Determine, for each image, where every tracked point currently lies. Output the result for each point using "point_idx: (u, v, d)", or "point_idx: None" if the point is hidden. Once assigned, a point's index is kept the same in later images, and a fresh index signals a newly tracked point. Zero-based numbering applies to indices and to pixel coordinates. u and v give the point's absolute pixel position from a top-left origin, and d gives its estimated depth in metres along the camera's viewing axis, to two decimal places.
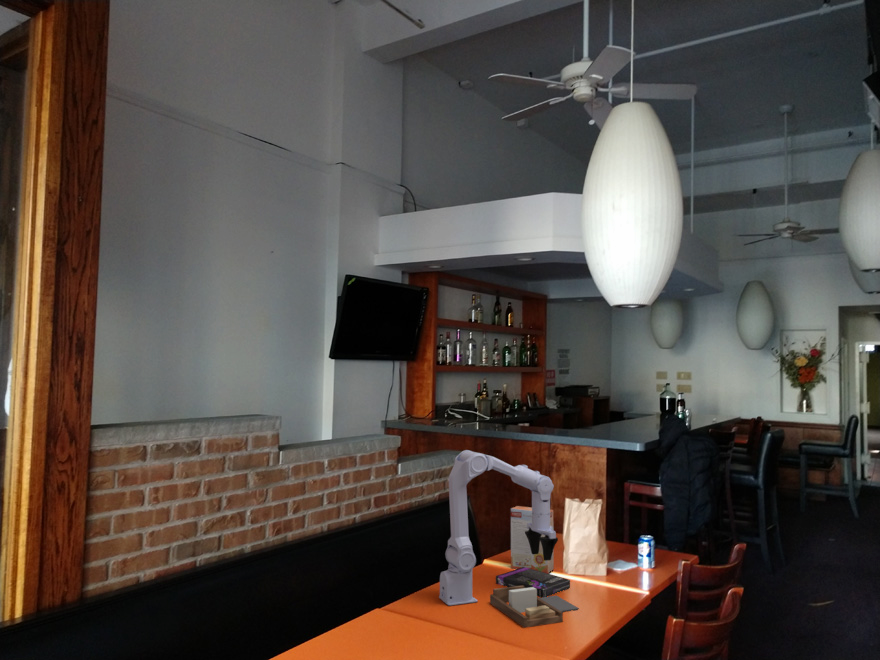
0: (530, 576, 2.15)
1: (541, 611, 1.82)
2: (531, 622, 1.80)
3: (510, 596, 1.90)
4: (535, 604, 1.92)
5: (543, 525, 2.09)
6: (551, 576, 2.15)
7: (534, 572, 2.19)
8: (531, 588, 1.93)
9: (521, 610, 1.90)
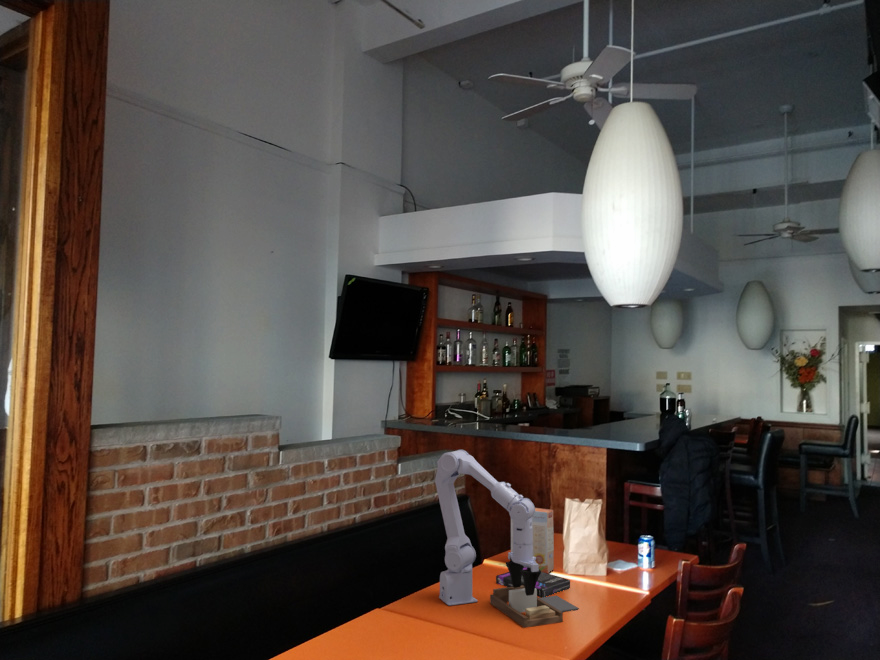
0: None
1: (541, 611, 1.82)
2: (531, 622, 1.80)
3: (510, 596, 1.90)
4: (535, 604, 1.92)
5: (524, 556, 1.90)
6: (551, 576, 2.15)
7: None
8: None
9: (521, 610, 1.90)
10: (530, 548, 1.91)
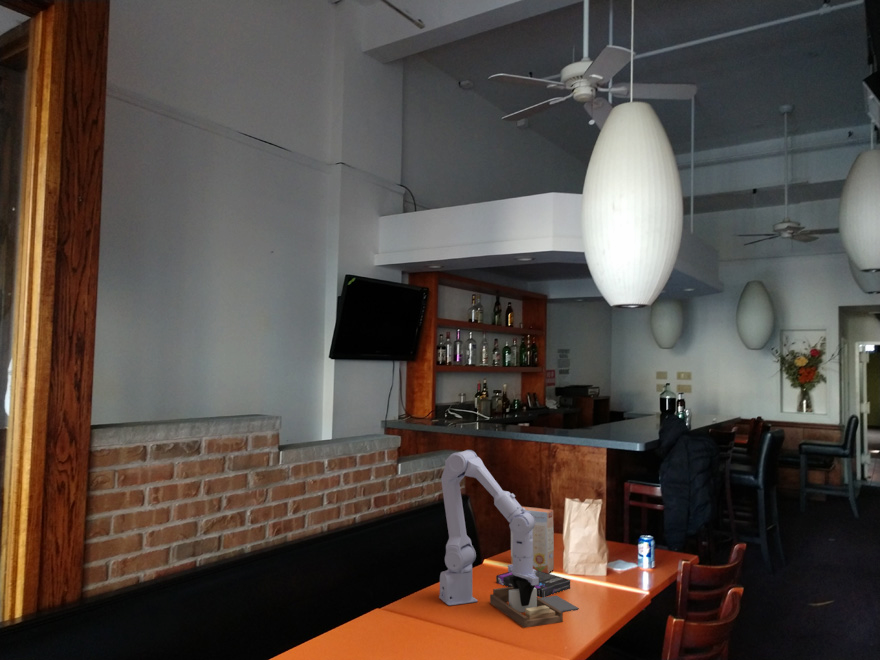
0: None
1: (541, 611, 1.82)
2: (531, 622, 1.80)
3: (510, 596, 1.90)
4: (535, 604, 1.92)
5: (524, 569, 1.90)
6: (551, 576, 2.15)
7: None
8: None
9: (521, 610, 1.90)
10: (530, 561, 1.91)
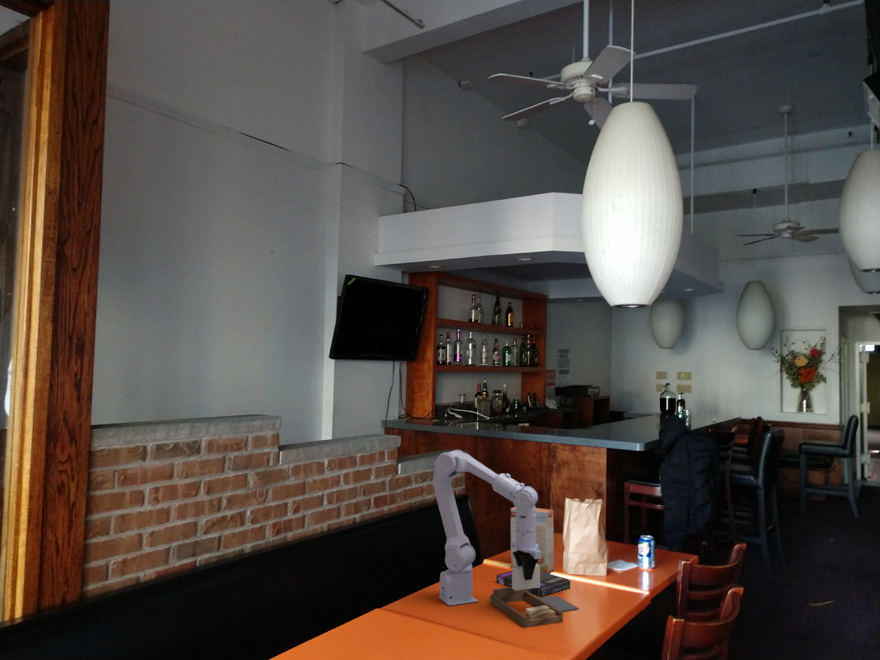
0: None
1: (541, 611, 1.82)
2: (531, 622, 1.80)
3: (513, 573, 1.91)
4: (538, 581, 1.93)
5: (527, 543, 1.91)
6: (551, 577, 2.15)
7: None
8: None
9: (524, 587, 1.91)
10: (533, 535, 1.91)
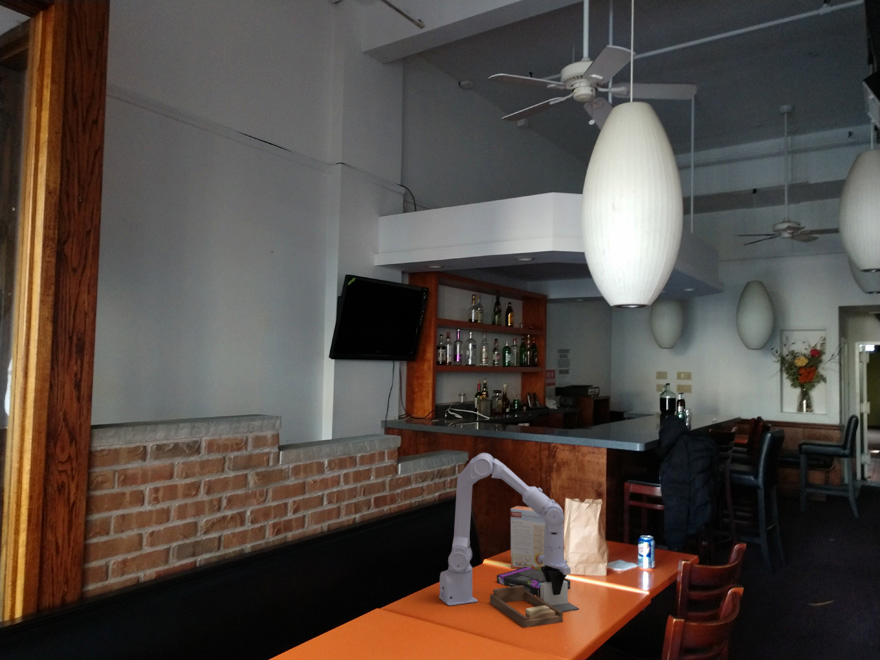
0: (530, 576, 2.15)
1: (541, 611, 1.82)
2: (531, 622, 1.80)
3: (542, 589, 1.95)
4: (566, 597, 1.97)
5: (556, 559, 1.95)
6: None
7: (535, 572, 2.20)
8: None
9: (552, 602, 1.95)
10: (561, 551, 1.96)
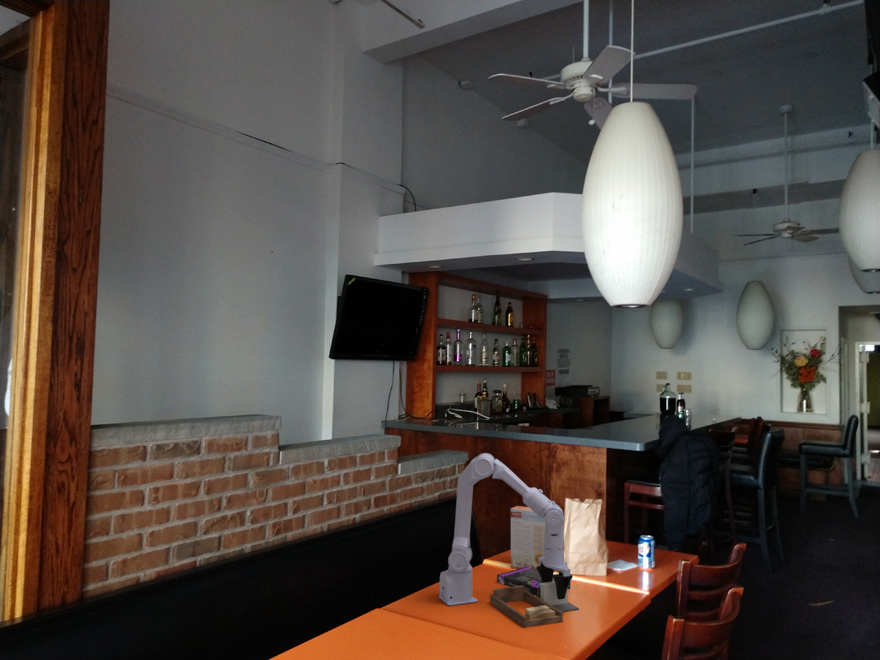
0: (531, 576, 2.16)
1: (541, 611, 1.82)
2: (531, 622, 1.80)
3: (542, 589, 1.95)
4: (566, 597, 1.97)
5: (556, 560, 1.95)
6: None
7: (535, 572, 2.20)
8: None
9: (552, 602, 1.95)
10: (561, 553, 1.96)
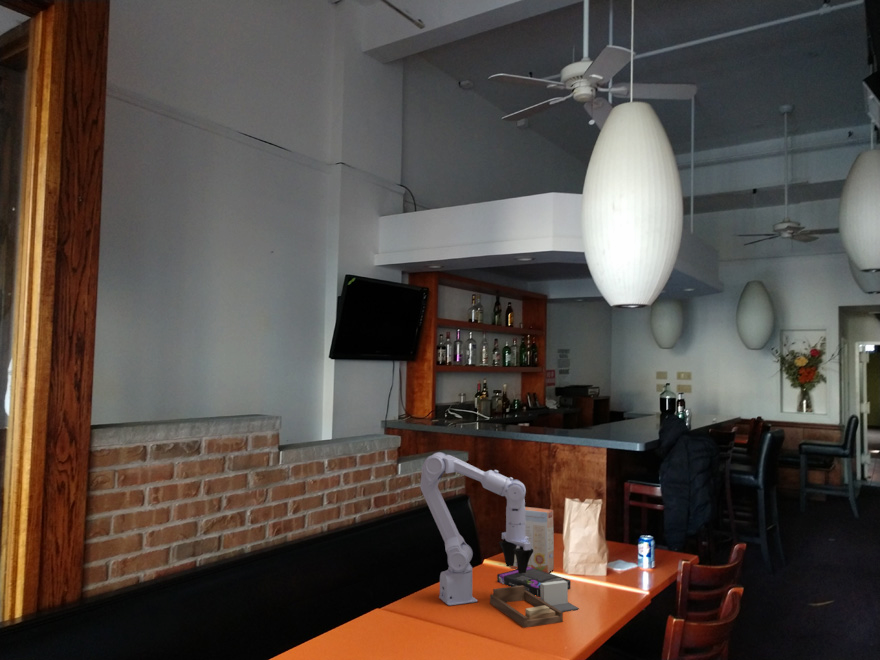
0: (531, 576, 2.16)
1: (541, 611, 1.82)
2: (531, 622, 1.80)
3: (542, 589, 1.95)
4: (566, 597, 1.97)
5: (517, 535, 1.96)
6: (552, 576, 2.15)
7: (536, 572, 2.20)
8: (562, 581, 1.98)
9: (552, 602, 1.95)
10: (523, 528, 1.97)
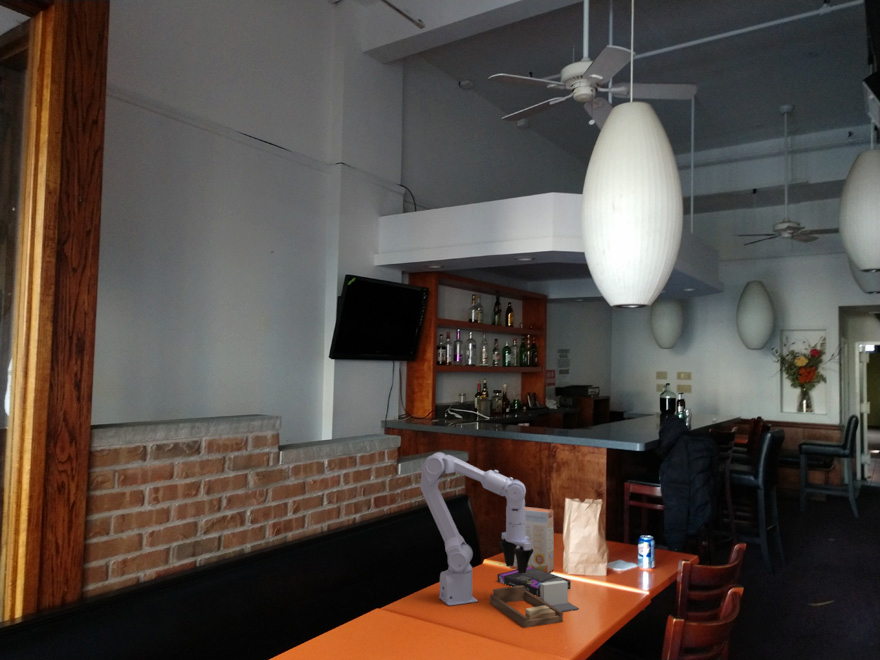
0: (531, 576, 2.16)
1: (541, 611, 1.82)
2: (531, 622, 1.80)
3: (542, 589, 1.95)
4: (566, 597, 1.97)
5: (517, 535, 1.96)
6: (552, 576, 2.15)
7: (536, 572, 2.20)
8: (562, 581, 1.98)
9: (552, 602, 1.95)
10: (523, 528, 1.97)
